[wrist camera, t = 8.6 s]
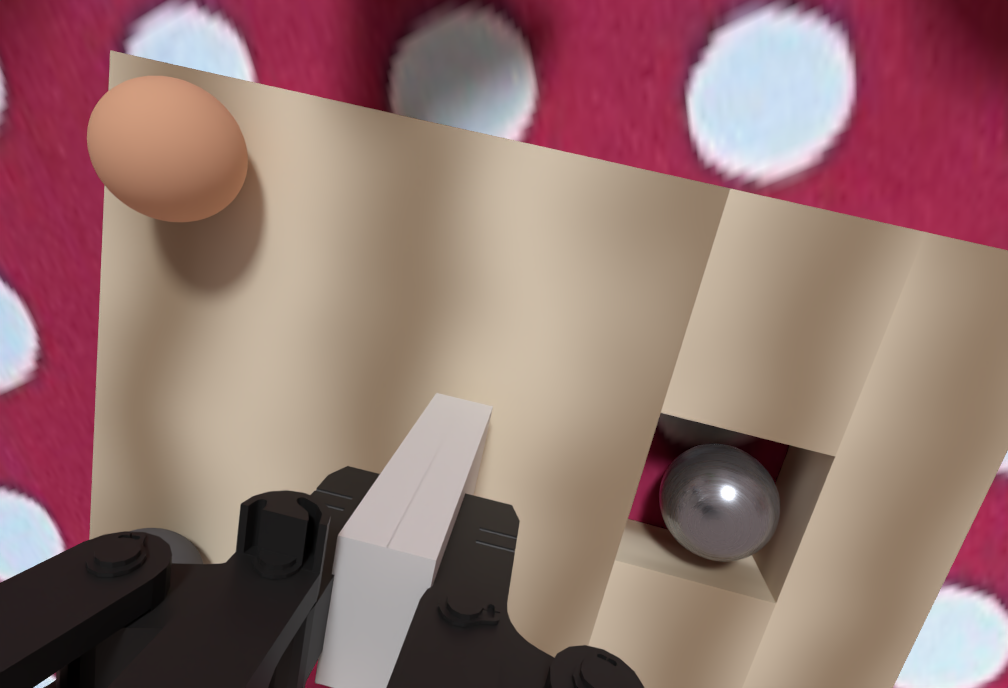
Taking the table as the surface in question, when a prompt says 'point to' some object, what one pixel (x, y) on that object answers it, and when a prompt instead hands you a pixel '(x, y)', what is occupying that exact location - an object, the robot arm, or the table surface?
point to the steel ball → (719, 502)
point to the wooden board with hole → (561, 376)
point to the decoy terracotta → (167, 148)
